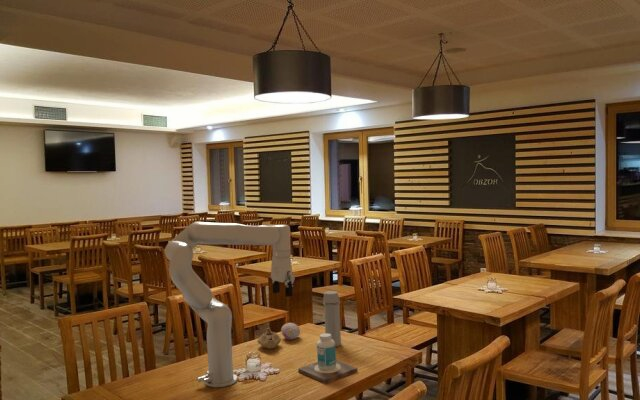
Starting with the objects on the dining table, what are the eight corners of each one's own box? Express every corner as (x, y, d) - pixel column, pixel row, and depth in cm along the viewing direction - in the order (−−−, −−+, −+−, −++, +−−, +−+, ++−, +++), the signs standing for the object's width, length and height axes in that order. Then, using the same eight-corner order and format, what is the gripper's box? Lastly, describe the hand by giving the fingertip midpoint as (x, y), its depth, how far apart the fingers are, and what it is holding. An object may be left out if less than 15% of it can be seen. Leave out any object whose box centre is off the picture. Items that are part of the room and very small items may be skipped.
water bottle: (326, 342, 248) (323, 290, 247) (342, 342, 247) (340, 290, 246) (323, 348, 239) (321, 295, 238) (340, 348, 238) (338, 295, 237)
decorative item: (296, 323, 265) (292, 313, 258) (305, 340, 257) (301, 330, 250) (280, 331, 263) (276, 321, 256) (288, 349, 256) (284, 338, 249)
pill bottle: (336, 364, 214) (335, 332, 213) (335, 371, 206) (334, 337, 206) (318, 364, 215) (317, 332, 214) (316, 371, 207) (315, 337, 207)
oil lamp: (263, 354, 235) (262, 337, 235) (254, 345, 249) (254, 328, 249) (286, 350, 239) (285, 333, 239) (276, 341, 253) (275, 325, 253)
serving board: (325, 383, 199) (325, 379, 198) (298, 372, 212) (298, 367, 212) (357, 371, 209) (357, 367, 209) (330, 361, 222) (329, 357, 222)
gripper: (263, 253, 223) (264, 292, 223) (285, 257, 209) (286, 299, 209) (278, 251, 227) (279, 290, 228) (300, 255, 213) (301, 296, 214)
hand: (282, 294), depth 219 cm, fingers open, 9 cm apart
